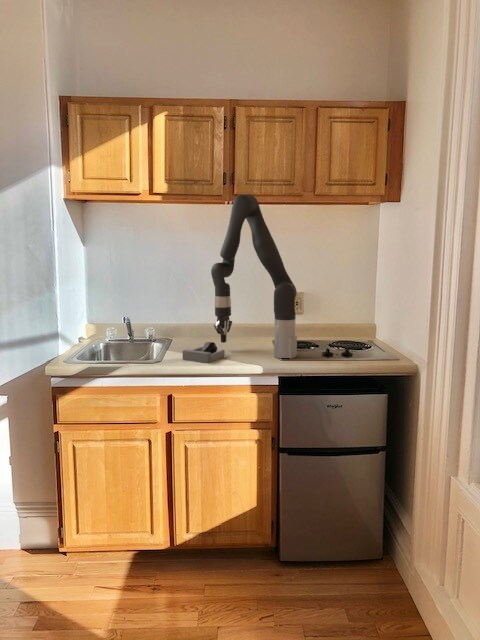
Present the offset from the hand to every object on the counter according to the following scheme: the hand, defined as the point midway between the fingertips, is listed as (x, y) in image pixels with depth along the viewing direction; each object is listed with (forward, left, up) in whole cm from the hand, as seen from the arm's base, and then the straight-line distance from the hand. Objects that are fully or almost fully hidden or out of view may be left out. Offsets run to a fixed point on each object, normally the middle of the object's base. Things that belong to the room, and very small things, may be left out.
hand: (223, 342), depth 239 cm
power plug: (0, +14, -5) cm, 15 cm away
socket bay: (0, +16, -4) cm, 17 cm away
